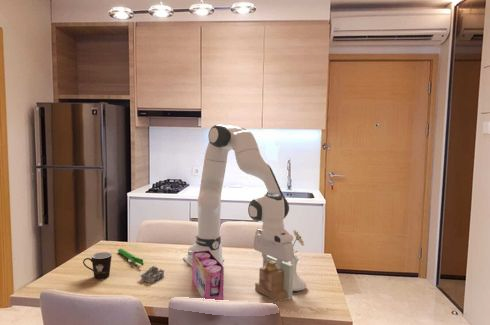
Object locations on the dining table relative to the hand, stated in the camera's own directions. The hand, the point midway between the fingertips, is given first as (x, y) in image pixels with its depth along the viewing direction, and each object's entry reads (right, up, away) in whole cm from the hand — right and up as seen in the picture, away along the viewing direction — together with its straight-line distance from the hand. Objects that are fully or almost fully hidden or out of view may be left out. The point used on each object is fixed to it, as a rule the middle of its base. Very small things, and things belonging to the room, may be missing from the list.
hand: (271, 266), depth 153 cm
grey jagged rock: (-53, -10, +16) cm, 56 cm away
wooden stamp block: (0, -9, +1) cm, 9 cm away
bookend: (0, -12, +3) cm, 13 cm away
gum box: (-27, -12, +4) cm, 30 cm away
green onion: (-69, -8, +37) cm, 79 cm away
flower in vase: (+10, -12, +10) cm, 18 cm away
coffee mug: (-77, -9, +16) cm, 80 cm away
